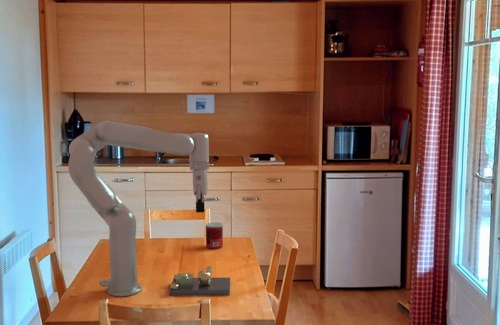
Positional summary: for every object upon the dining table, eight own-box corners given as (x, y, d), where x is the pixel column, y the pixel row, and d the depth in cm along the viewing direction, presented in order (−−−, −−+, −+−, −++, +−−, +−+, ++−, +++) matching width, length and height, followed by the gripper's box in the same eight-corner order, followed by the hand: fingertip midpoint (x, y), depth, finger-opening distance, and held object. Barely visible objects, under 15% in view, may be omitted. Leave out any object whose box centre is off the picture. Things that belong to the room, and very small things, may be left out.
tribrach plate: (169, 295, 207) (168, 280, 206) (173, 283, 220) (173, 269, 219) (229, 294, 207) (229, 280, 206) (230, 282, 220) (230, 268, 219)
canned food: (226, 246, 268) (225, 223, 267) (216, 250, 262) (215, 227, 260) (212, 243, 272) (212, 221, 271) (202, 248, 266) (202, 225, 264)
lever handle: (209, 285, 211) (209, 273, 210) (197, 284, 211) (197, 273, 210) (215, 274, 223) (215, 263, 222) (203, 273, 223) (203, 262, 223)
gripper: (207, 168, 210) (208, 216, 213) (210, 162, 225) (210, 207, 228) (187, 168, 210) (188, 216, 213) (191, 162, 225) (192, 207, 228)
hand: (200, 211), depth 220 cm, fingers closed
